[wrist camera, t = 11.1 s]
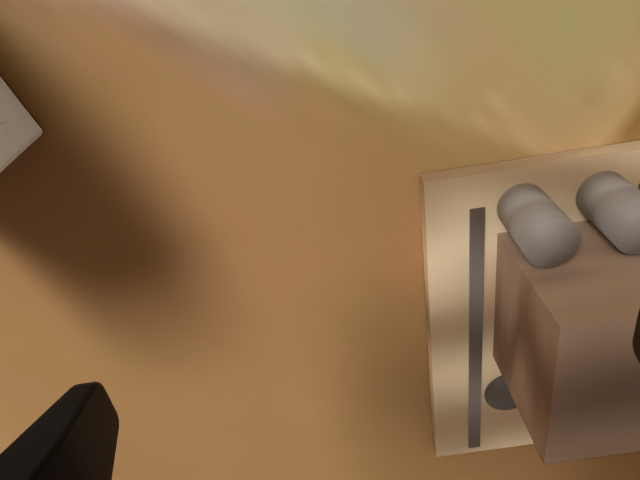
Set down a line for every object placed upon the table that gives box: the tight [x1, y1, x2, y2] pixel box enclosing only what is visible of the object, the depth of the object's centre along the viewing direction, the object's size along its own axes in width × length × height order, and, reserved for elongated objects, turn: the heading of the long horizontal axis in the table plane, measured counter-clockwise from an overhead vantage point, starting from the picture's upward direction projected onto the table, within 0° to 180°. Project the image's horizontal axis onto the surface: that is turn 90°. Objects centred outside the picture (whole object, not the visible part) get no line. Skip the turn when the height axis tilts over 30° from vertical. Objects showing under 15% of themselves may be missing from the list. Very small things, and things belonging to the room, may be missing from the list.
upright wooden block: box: [493, 220, 640, 464], centre depth 21 cm, size 7×5×6 cm
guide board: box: [420, 141, 640, 457], centre depth 24 cm, size 17×11×4 cm, turn 8°
